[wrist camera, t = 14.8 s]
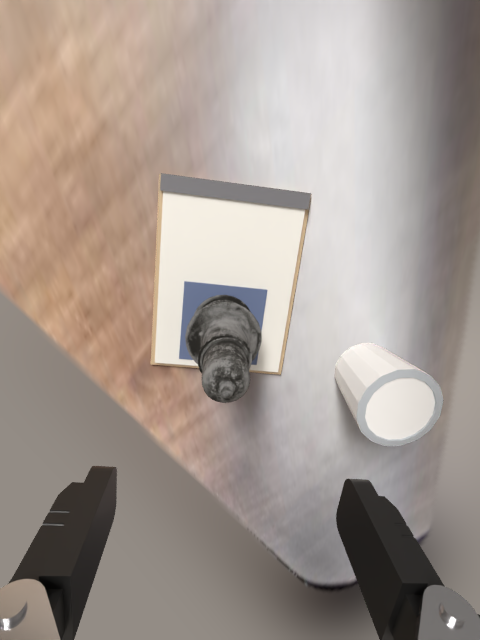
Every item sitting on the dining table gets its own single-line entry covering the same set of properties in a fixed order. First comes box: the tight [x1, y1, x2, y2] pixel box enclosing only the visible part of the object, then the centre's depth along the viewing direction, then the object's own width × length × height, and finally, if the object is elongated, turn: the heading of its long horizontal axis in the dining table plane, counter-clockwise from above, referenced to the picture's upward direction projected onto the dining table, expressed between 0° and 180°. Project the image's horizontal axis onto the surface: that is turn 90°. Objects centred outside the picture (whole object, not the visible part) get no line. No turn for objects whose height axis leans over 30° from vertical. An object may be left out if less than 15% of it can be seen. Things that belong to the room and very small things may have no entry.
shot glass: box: [334, 343, 443, 446], centre depth 29 cm, size 7×7×7 cm
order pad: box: [151, 173, 312, 375], centre depth 29 cm, size 16×12×1 cm
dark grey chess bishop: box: [185, 295, 262, 403], centre depth 24 cm, size 6×6×12 cm
